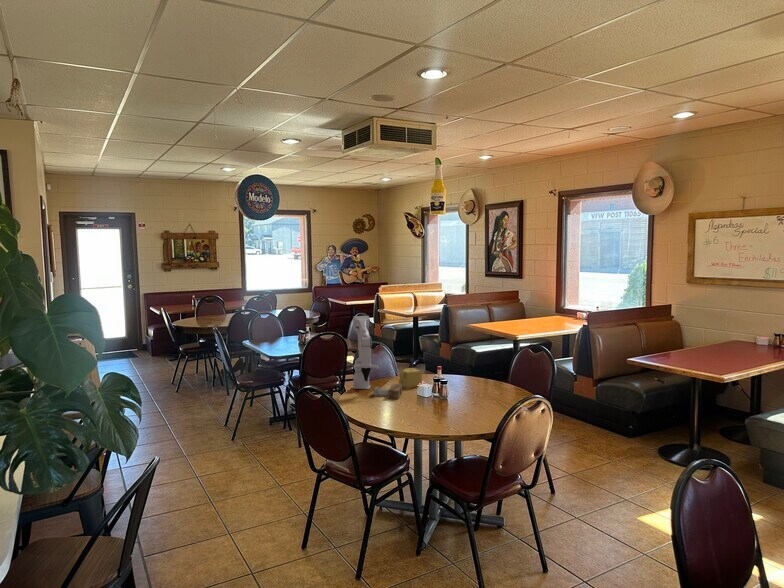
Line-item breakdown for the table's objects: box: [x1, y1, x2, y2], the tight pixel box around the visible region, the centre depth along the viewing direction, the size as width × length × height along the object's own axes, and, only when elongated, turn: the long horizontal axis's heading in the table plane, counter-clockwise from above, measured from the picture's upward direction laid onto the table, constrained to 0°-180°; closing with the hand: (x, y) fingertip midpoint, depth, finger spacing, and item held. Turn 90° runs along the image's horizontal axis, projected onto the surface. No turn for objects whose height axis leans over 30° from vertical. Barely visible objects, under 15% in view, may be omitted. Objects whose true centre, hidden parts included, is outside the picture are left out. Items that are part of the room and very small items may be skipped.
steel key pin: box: [373, 386, 389, 397], centre depth 314 cm, size 13×6×4 cm, turn 81°
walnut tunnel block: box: [387, 383, 403, 400], centre depth 313 cm, size 6×14×5 cm, turn 171°
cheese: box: [398, 367, 423, 389], centre depth 335 cm, size 10×11×10 cm
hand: (366, 380), depth 315 cm, fingers closed
